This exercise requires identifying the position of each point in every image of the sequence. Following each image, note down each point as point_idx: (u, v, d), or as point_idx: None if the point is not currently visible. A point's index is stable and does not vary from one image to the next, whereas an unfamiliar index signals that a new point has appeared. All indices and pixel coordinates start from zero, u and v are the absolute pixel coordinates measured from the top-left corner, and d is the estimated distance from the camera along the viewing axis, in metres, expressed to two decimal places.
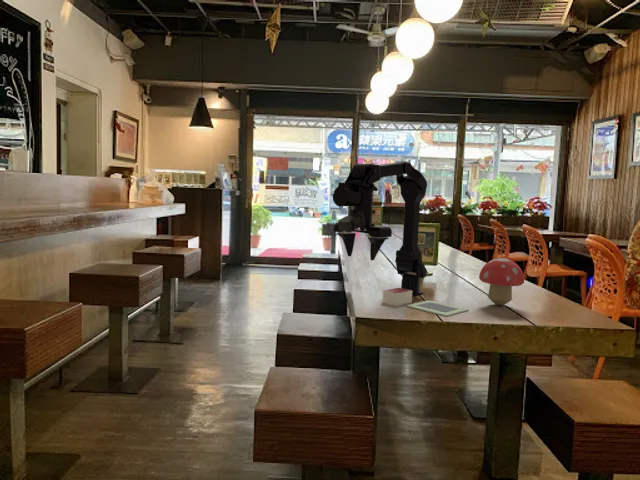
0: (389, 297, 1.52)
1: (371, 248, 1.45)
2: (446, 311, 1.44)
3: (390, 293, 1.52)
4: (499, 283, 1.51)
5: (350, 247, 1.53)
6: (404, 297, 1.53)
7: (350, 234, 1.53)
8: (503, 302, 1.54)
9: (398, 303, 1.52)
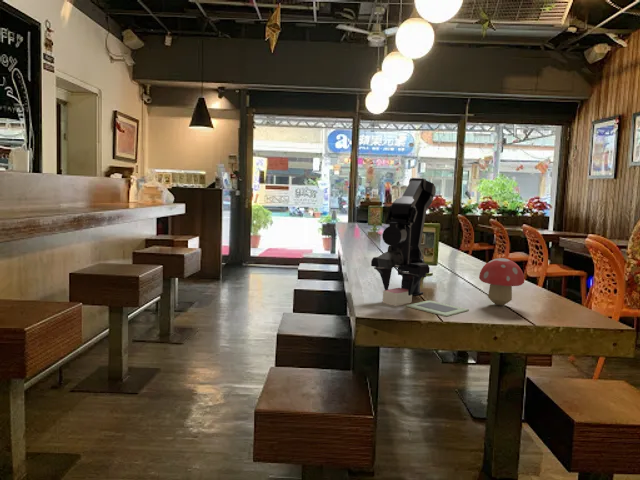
0: (389, 297, 1.52)
1: (409, 284, 1.50)
2: (446, 311, 1.44)
3: (390, 293, 1.52)
4: (499, 283, 1.51)
5: (387, 281, 1.58)
6: (404, 297, 1.53)
7: (387, 268, 1.58)
8: (503, 302, 1.54)
9: (398, 303, 1.52)
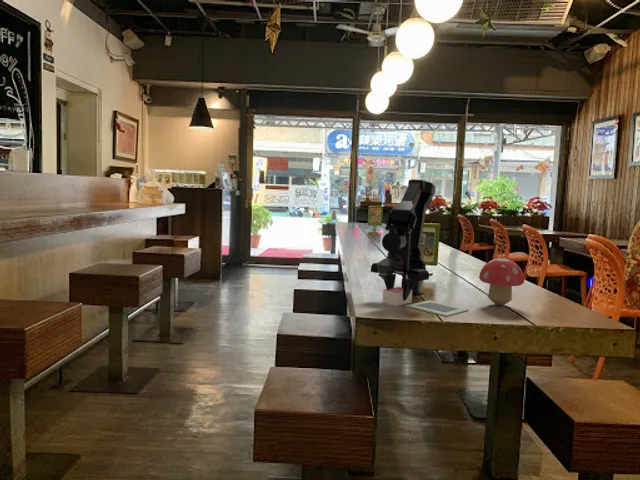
0: (389, 296, 1.52)
1: (404, 289, 1.52)
2: (446, 311, 1.44)
3: (390, 292, 1.52)
4: (499, 283, 1.51)
5: None
6: None
7: (391, 275, 1.57)
8: (503, 302, 1.54)
9: (398, 302, 1.51)
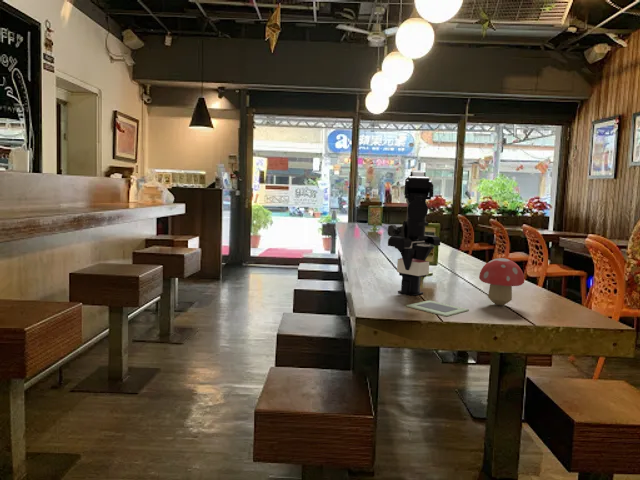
0: None
1: None
2: (446, 311, 1.44)
3: None
4: (499, 283, 1.51)
5: None
6: None
7: (422, 247, 1.53)
8: (503, 302, 1.54)
9: (400, 270, 1.52)
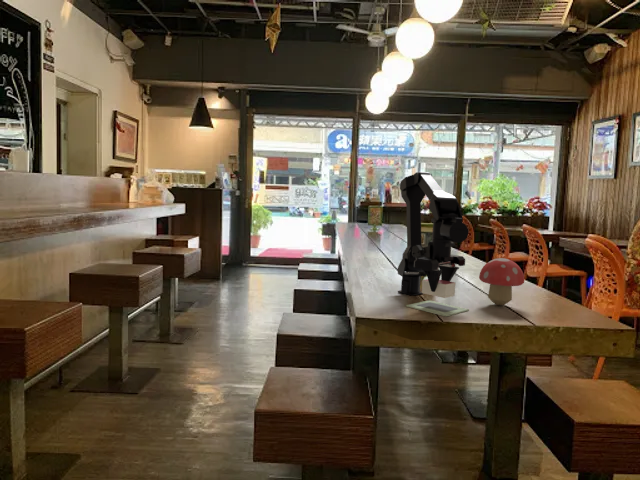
0: None
1: None
2: (446, 311, 1.44)
3: None
4: (499, 283, 1.51)
5: (444, 280, 1.50)
6: None
7: (447, 267, 1.50)
8: (503, 302, 1.54)
9: (425, 291, 1.49)
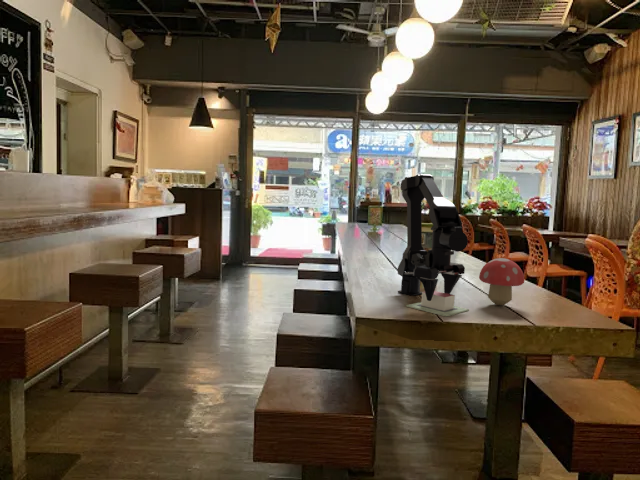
0: None
1: None
2: (446, 311, 1.44)
3: None
4: (499, 283, 1.51)
5: (447, 288, 1.52)
6: (433, 300, 1.47)
7: (450, 275, 1.52)
8: (503, 302, 1.54)
9: (424, 303, 1.50)
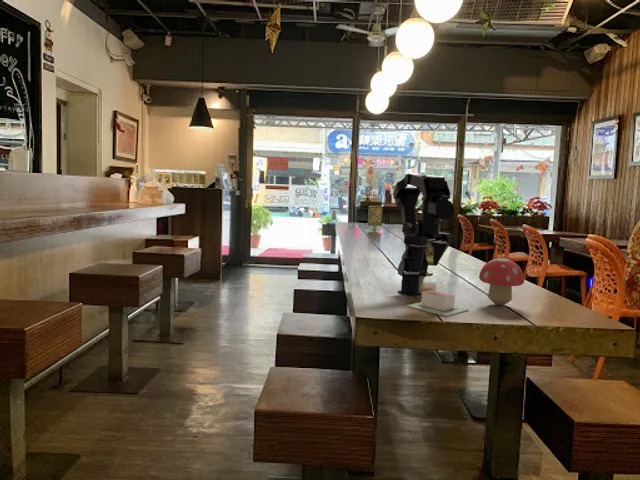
0: None
1: None
2: (446, 311, 1.44)
3: None
4: (499, 283, 1.51)
5: (436, 256, 1.58)
6: (433, 300, 1.47)
7: (439, 244, 1.58)
8: (503, 302, 1.54)
9: (424, 303, 1.50)
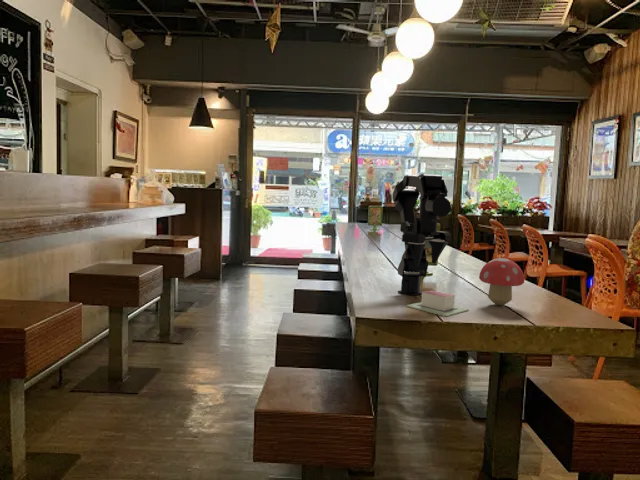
0: None
1: None
2: (446, 311, 1.44)
3: None
4: (499, 283, 1.51)
5: (434, 255, 1.59)
6: (433, 300, 1.47)
7: (437, 242, 1.59)
8: (503, 302, 1.54)
9: (424, 303, 1.50)
